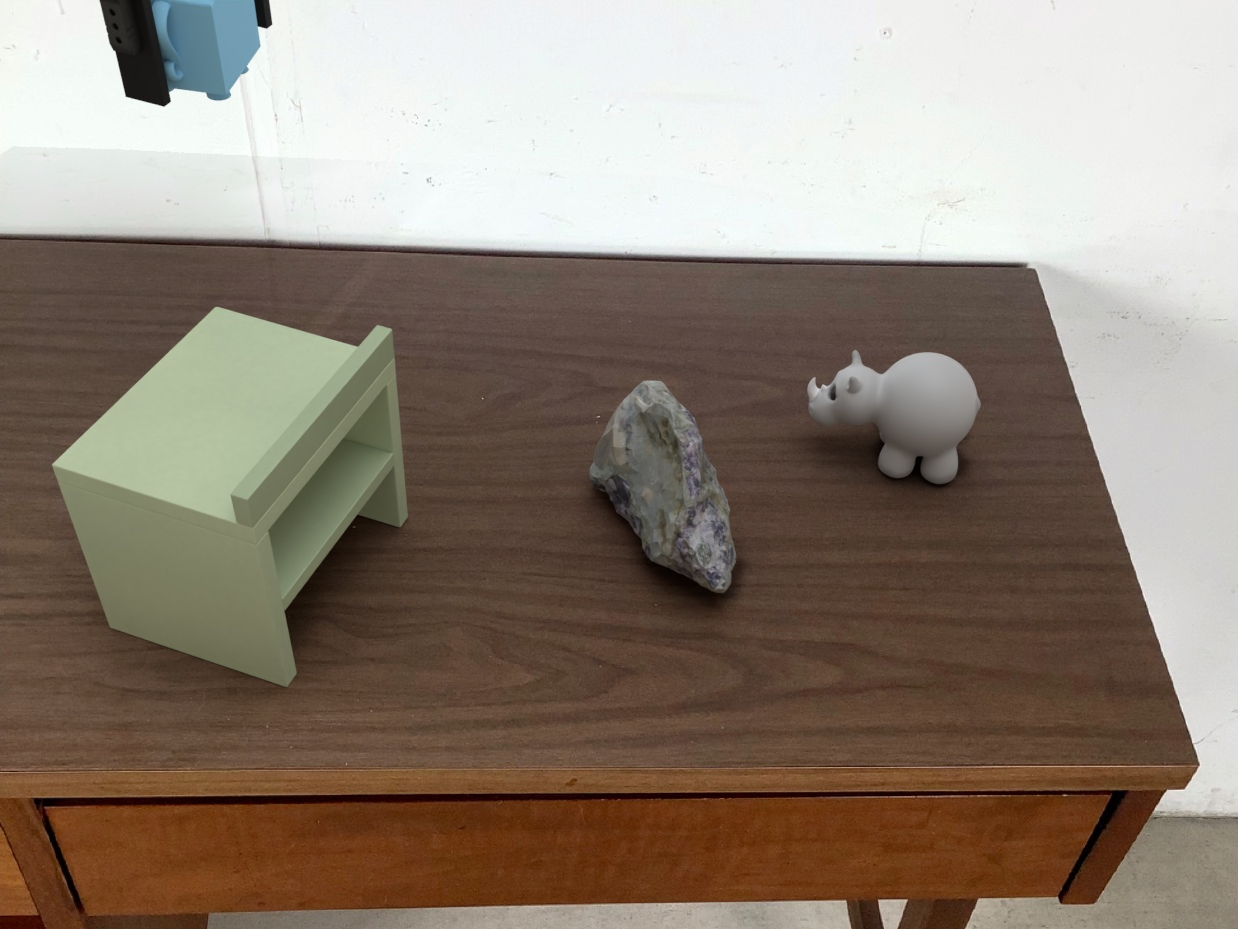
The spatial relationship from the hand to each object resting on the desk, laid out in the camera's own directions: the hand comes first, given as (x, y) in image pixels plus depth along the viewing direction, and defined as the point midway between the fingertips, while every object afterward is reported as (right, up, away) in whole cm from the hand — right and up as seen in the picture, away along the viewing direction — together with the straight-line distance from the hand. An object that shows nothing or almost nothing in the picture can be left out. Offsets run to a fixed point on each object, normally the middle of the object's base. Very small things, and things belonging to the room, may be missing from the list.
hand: (202, 59), depth 83 cm
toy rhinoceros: (+46, -24, +11) cm, 53 cm away
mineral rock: (+30, -31, +3) cm, 43 cm away
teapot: (0, -1, +1) cm, 1 cm away
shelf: (+5, -33, -2) cm, 34 cm away
